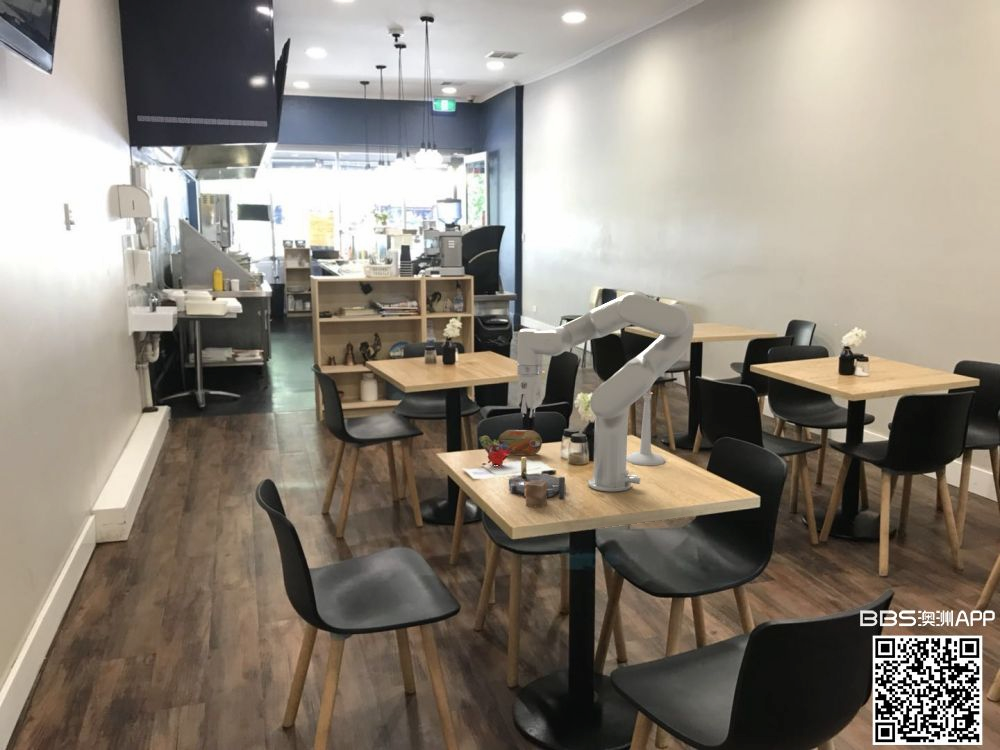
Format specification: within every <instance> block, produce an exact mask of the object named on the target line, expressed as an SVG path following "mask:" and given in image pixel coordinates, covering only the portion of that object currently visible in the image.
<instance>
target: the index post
mask: <svg viewBox="0 0 1000 750" xmlns="http://www.w3.org/2000/svg"><path fill="white" fill-rule="evenodd" d="M558 478H559V493H558V499H559V500H564V499H565V496H566V495H565V493H566V491H565V484H566V483H565V482H566V478H565V476H558Z"/></svg>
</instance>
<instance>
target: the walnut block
mask: <svg viewBox="0 0 1000 750" xmlns="http://www.w3.org/2000/svg"><path fill="white" fill-rule="evenodd" d="M525 500H526V501H525V505H529V506H528V507H534V506H536V508H543V507H544V506H545V505H546V504H547V503H548V502H547V500H548V497H547V482H544V481H536V480H531V481H530V482H529V483H527V484H526V497H525ZM545 503H546V504H545ZM543 505H544V506H543ZM542 506H543V507H542Z"/></svg>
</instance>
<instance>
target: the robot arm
mask: <svg viewBox="0 0 1000 750" xmlns="http://www.w3.org/2000/svg"><path fill="white" fill-rule="evenodd" d="M631 325H632V326H635V327H637V328H640V329H643V330H646V331H649V332H652V333H655V334H658V335H659V336H658V337H657V338H656V339H655V340H654V341H653V342H652V343H650V344H649V346H648V347H646V348H645V349H644V350H643V351H641V352H640V353H639V354H637V355H636V356H634V357H633V358H632V359H630V360H628V361H627V362H626V363H625V364H624V365H623V366H622V367H621V368H620V369H619V370H617V371H616V372H615V373H614V374H613V375H612V376H611V377H609V378H608V379H607V380H606V381H604V382H602V383H601V384H600V385H598V387H596V389H595V390H594V391H593V392H592V394H591V396H590V399H589V405H590V409H591V412H592V413H593V414H594V415H595V417H594V418H595V419H594V433H593V435H594V438H593V439H594V442H593V477H591V478H589V479H588V481H587V485H588V487H590V488H591V489H593V490H596V491H602V492H610V493H611V492H623V491H627V490H629V489H630V488H631V487H632V484H634V485H640V484H641V477H639V476H638V475H632V474H629V469H627V461H626V456H628V454H627V453H628V452H627V451H628V450H627V449H628V425H629V424H628V423H629V422H628V421H629V408H630V407H631V406H632V405H633V404H634V403H635V402H636V401H638V400H639V399H640V398H641V397H643V396H644V394H645V393H646V392H647V391H648V390H649V389H650V388H652V387H653V384H654V383H655V382H656V381H657V379H659V378H660V377H661V376H662V375H663V374H664V373H666V371H668V370H669V369H670V368H671V367H672V366H673V365H674V364H676V363H677V362H678V361H679V360H680V359H681V358H682V357H683V356H684V355H685V353H686V352H687V351H688V349H689V347H690V346H691V343H692V340H693V337H694V330H695V329H694V326H695V325H694V320H693V316H692V314H691V311H690V310H689V308H687V307H686V306H685V305H684V304H681V303H671V304H669V303H665V302H662V301H659V300H655V299H653V298H650V297H649V296H648V295H647V294H646V293H644V292H643V291H639V290H634V291H631V292H627V293H626V294H623V295H621V296H619V297H617V298H615V299H613V300H610V301H608V302H605V303H604V304H602V305H599V306H597V307H595V308H592V309H590V310H589V311H587V312H586V313H585V314H584V315H582V316H580V317H577V318H576V319H573V320H571V321H569V322H567V323H565V324H562V325H560V326H557V327H555V328H552V329H550V330H541V329H540V328H533V327H532V328H531V327H530V328H529V327H527V328H521V329H520V330H519V331H518V333H517V365H516V372H517V373H516V374H517V375H518V376H519V377H518V383H517V384H518V387H517V407H518V408H519V409H521V410H520V413H521V414H522V430H531V431H534V430H535V418H536V417H535V415H536V408H538V407H540V406H541V405H542V404H543V381H542V376H543V361H544V360H543V359H544V356H543V355H545V356H550V357H557V356H560V355H561V354H563V353H564V352H566V351H569V350H570V349H572V348H575V347H577V346H579V345H582V344H584V343H587V342H589V341H590V340H593V339H594V340H595V339H600V338H604V337H607V336H608V335H610V334H613V333H614V332H618V331H619V330H621V329H624V328H626V327H629V326H631Z"/></svg>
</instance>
